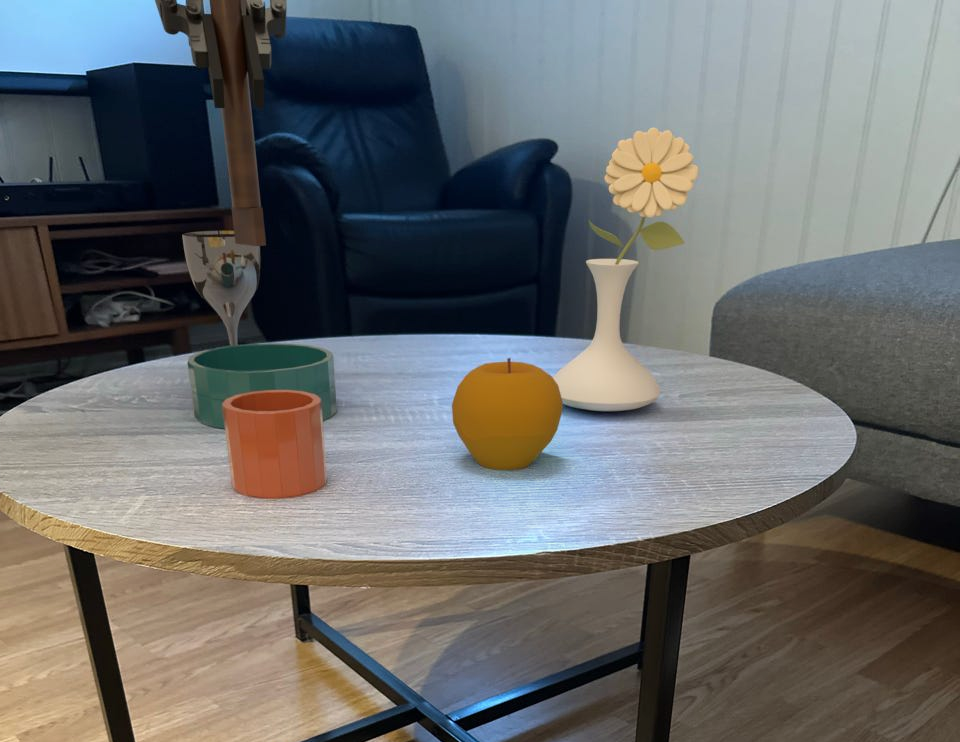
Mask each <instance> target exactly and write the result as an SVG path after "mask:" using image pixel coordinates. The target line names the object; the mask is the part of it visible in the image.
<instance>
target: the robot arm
mask: <svg viewBox="0 0 960 742" xmlns="http://www.w3.org/2000/svg"><path fill="white" fill-rule="evenodd" d="M154 1H155V2H154V3H155V5H156V8H157V12H158V14H159V19H160V21H161V25H162V27H163V30H164V32H165V33H167V34H168V35H170V36H171V35H173V36H174V35H177V34H179V33H183V34H184V35H186V37H187V40H188V46H189V47H190V53H191V58H192V63H193V64H194V66H195V68H207V70H208V71H207V72H208V75H209V81H210V87H211V94H212V99H213V106H214V109H222V108H225V106H224V85H223V75H222V69H221V63H220V58H219V52H218V46H217V41H216V35H215V29H214V23H213V18H212V14H211V13H204V0H185V5H184V4H181V3H178V0H154ZM241 8H242V20H243V30H244V40H245V50H246V61H247V71H248V80H249V88H250V94H251V98H252V103H253V108H254V109H256V110H257V109H260V110H261V109H263V110H264V109H265V78H264V74H263V73H264V72H263V70H271V66H272V45H271V40H270V37H272V36H273V37H274V38H276V39H283V38H285V37H286V35H287V8H288V7H287V0H269V7H266V1H262V0H241Z"/></svg>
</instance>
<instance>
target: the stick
mask: <svg viewBox="0 0 960 742" xmlns="http://www.w3.org/2000/svg"><path fill="white" fill-rule="evenodd" d="M209 9H210V14H212V18H213V23H214V29H215V35H216V41H217V46H218V52H219V58H220V63H221V69H222V75H223V85H224V106H225V108H221V116H222V127H223V134H224V143H225V144H224V145H225V153H226V161H227V170H228V171H227V172H228V179H229V180H228V181H229V189H230V197H231V205H232V206H231V208H230V209H231V215H232V225H233V231H234V235H235V243H236V244H242V245H250V246H260V247H265V246H267V241H266V230H265V222H264V209H263V207H262V204H261V203H262V202H261V193H260V183H259V182H260V181H259V172H258V161H257V154H256V151H257V150H256V145H255V144H256V143H255V141H256V140H255V132H254V123H253V112H252V111H253V110H252V102H251V101H252V100H251V89H250V82H249V76H248V71H247V61H246V50H245V40H244V30H243V20H242V8H241V0H209Z"/></svg>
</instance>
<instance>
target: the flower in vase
mask: <svg viewBox="0 0 960 742" xmlns="http://www.w3.org/2000/svg"><path fill="white" fill-rule="evenodd" d="M690 149H691V148H690V145H689V144H688V142H687V143H686V142H685V139H684V138H683V137H680V136H679V137H675V136H674V135H673V132H672V131H671V130H669V129H666V130H663V131H660V130H659V129H658V128H657V127H650V128H649V129H648V131H644V132H643V131H642V130H636V131H635V132H634V133H633V138H631V137H629V138H627V139H621V140H619V141H618V143H617V147H616V148H615V150H614V151H613V152H612V154H611V159H610V160H609V162H608V165H607V166H606V168H605V171H606V174H605V175H604V182H605V183H606V184H607V185H609V186H608V192H609V193H610V194H611V195H614V197H613V198H612V201H613V204H614V205H615V206H620V207H621V208H622V209H626V210H627V212H629V213H631V214H635V213H636V212H638V214H639V216H640V217H641V220H640V223H639V225H638V227H637V229H636V231H635V232H634V234H633V235H632V237H631V238H630V239H629V241H628V242H627V243H626V245H625V246H624V244H623V243H622V242H621V240H620V239H619V238H618V237H617V236H616V235H615V234H613V233H611V232H609V231H606V230H604V229H601V228H599V227H598V226H596V225H594V223H592V222H591V221H590V219H587V221H588V225H589V226H590V228H591V230H592V231H593V232H594V233H595V234H596V235H598V236H599V237H600V238H602V239H604V240H606V241H608V242H609V243H612V244H614V245H617V246H619V247H621V248H623V249H622V250H621V252H620V253H619V255H618V257H617V258H593V259H588V260H585V263H586V265H587V267H588V269H589V270H590V272H591V275H592V277H593V281H594V284H595V291H596V301H597V304H596V306H597V307H596V308H597V309H596V310H597V311H596V312H597V313H596V314H597V315H596V318H597V319H596V327H595V331H594V336H593V338H592V340H591V343H589V344H588V345H587V347H586V348H585V349H584V350H582V351H581V352H580V353H579V354H578V355H576V356H575V357H574V358H573V359H572V360H570V361H569V362H568V363H566V364H565V365H564V366H563V367H562V368H560V369H559V370H558V371H557V372H556V373H555V374H554V375H553V376H552V378H553V379H554V380H555V382H556V383H557V384H558V386H559V390H560V394H561V398H562V405H565V406H568V407H570V408H576V409H581V410H585V411H587V410H588V411H595V412H621V411H631V410H636V409H640V408H643V407H646V406H648V405H651V404H653V403H654V402H655V401H657V399H658V398H659V396H660V395H661V388H660V386H659V382H658V380H656V378H655V377H654V375H653V374H652V373H651V372H650V371H649V370H648V369H647V368H646V367H645V366H644V365H643V364H642V363H641V362H640V361H639V360H638V359H636V357H634V356H633V355H632V354H631V352H630V351H628V349H627V348H626V346H625V345H624V344H623V341H622V338H621V331H620V327H621V325H620V324H621V323H620V321H621V311H622V306H623V305H622V304H623V298H624V295H625V291H626V287H627V284H628V282H629V279H630V277H631V275H632V274H633V272H634V271H635V269H636V268H637V267H638V265H639V264H640V262H639V261H637V260H634V259H633V260H632V259H626V258H625V259H624V255H625V254H626V252H627V251H628V250H629V249H630V247H631V245H633V243H634V241H635V240H636V239H637V237H638V235H639V234H640V238H641V239H642V241H644V243H645V244H646V246H647V247H648V248H649V249H651V250H653V251H659V250H666V249H669V248H673V247H678V246H681V245H683V244H685V241H684V240H683V238H682V237H681V235H680V233H679V232H678V231H677V230H676V228H674V227H673V226H672V225H670V224H668V222H665V221H656V222H653V223H651V224H648V225H646V226H644V223H645V221H646V217H647V218H654V217H659V216H661V215H662V214H663V211H669V210H670V211H674V210H676V209H678V207H680V206H681V207H682V206H683V205H685V204H686V201H687V200H688V198H689V194H688V192H690V191H691V190H692V189H694V185H695V183H694V181H696V180H697V178H698V173H699V167H698V166H697V165H695V164H692V163H693V162H694V160H695V158H694V155H693V154H692V153H691V152H689V151H690ZM643 226H644V227H643Z"/></svg>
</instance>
